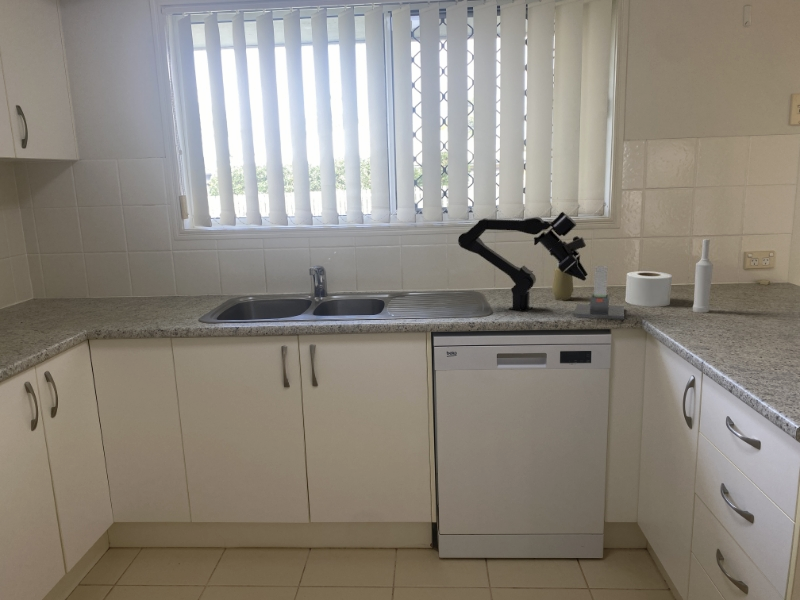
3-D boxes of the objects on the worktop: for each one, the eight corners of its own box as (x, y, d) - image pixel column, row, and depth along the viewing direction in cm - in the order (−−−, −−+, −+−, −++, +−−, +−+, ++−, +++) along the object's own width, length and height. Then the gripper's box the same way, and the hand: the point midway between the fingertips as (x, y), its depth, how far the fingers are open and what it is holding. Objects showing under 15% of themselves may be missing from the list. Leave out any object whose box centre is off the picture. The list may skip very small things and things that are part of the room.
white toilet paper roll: (679, 303, 214) (681, 274, 212) (649, 308, 208) (650, 279, 205) (645, 296, 228) (647, 269, 226) (616, 301, 221) (617, 273, 219)
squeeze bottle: (568, 301, 222) (569, 255, 219) (548, 299, 227) (549, 254, 223) (576, 298, 229) (577, 252, 225) (556, 296, 233) (557, 251, 230)
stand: (573, 316, 198) (574, 299, 197) (577, 307, 213) (577, 291, 212) (623, 319, 193) (624, 301, 192) (623, 309, 208) (624, 292, 206)
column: (593, 298, 201) (594, 267, 198) (593, 295, 204) (595, 265, 202) (606, 298, 199) (607, 267, 197) (606, 296, 203) (607, 266, 201)
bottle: (711, 313, 198) (717, 240, 193) (694, 312, 199) (700, 240, 194) (706, 309, 203) (712, 238, 198) (690, 309, 204) (695, 238, 199)
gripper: (570, 231, 192) (603, 266, 190) (574, 227, 209) (604, 258, 207) (544, 254, 196) (577, 288, 195) (550, 248, 213) (580, 279, 212)
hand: (585, 277), depth 202 cm, fingers open, 9 cm apart
